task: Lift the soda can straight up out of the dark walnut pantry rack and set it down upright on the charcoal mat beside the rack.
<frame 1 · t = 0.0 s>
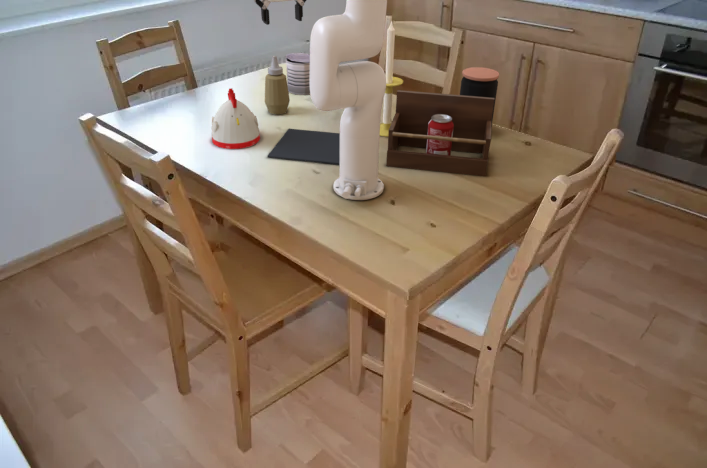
hand: (282, 21, 163), 31 cm above the table, tool pointing down, fingers open, 9 cm apart
candle: (386, 130, 179), on the table
coffee jar: (473, 131, 180), on the table
pantry rack: (437, 159, 162), on the table
kitchen timer: (236, 139, 172), on the table
can: (303, 90, 209), on the table
squeeze bottle: (277, 112, 191), on the table
soda can: (437, 159, 162), resting in pantry rack
mat: (318, 147, 167), on the table
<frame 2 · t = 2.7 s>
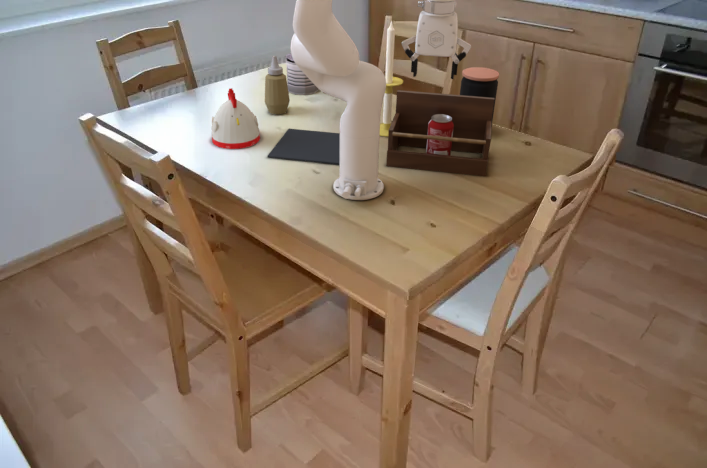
hand: (433, 76, 151), 23 cm above the table, tool pointing down, fingers open, 9 cm apart
nothing on the table moved.
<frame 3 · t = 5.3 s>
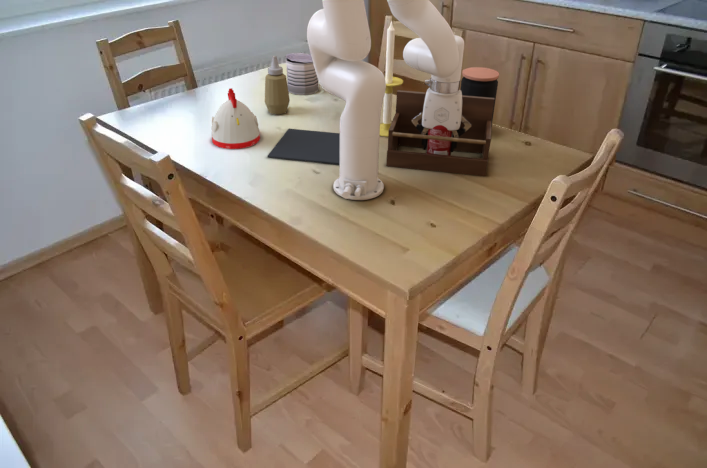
hand: (438, 148, 160), 3 cm above the table, tool pointing down, fingers closed on soda can, 6 cm apart
soda can: (437, 159, 162), resting in pantry rack, touching gripper
everything else where it was.
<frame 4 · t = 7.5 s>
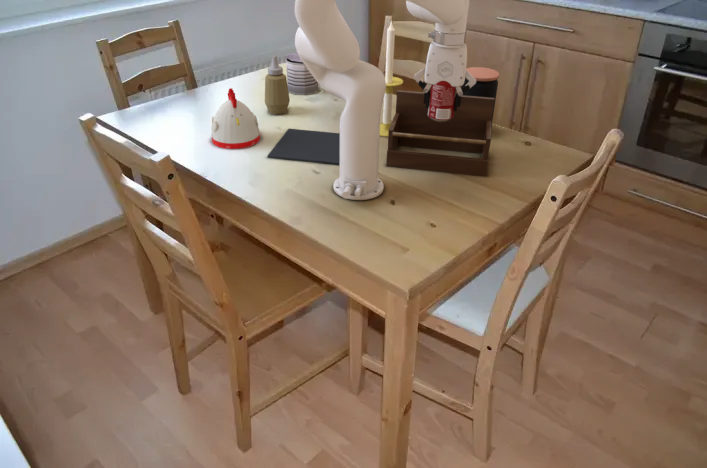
hand: (441, 107, 154), 15 cm above the table, tool pointing down, fingers closed on soda can, 6 cm apart
soda can: (440, 119, 155), point 12 cm above the table, touching gripper
everything else where it was.
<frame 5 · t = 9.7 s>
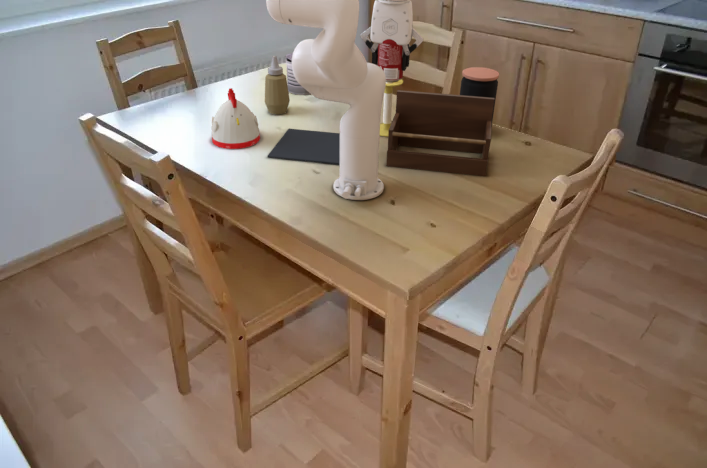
hand: (390, 67, 151), 24 cm above the table, tool pointing down, fingers closed on soda can, 6 cm apart
soda can: (389, 80, 153), point 21 cm above the table, touching gripper
everything else where it was.
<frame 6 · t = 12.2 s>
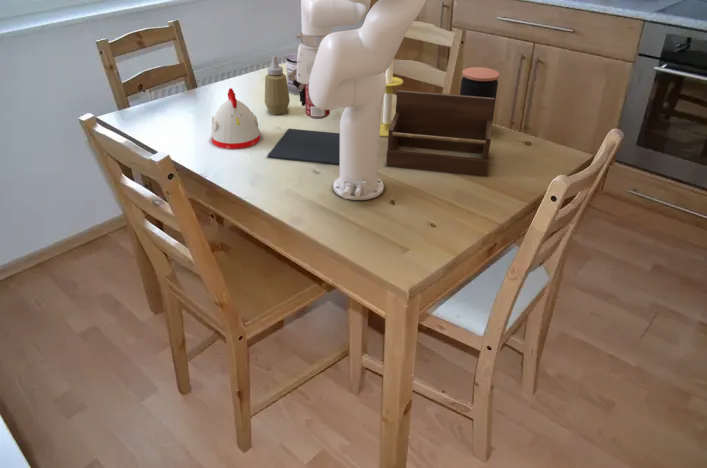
hand: (317, 105, 161), 13 cm above the table, tool pointing down, fingers closed on soda can, 6 cm apart
soda can: (317, 116, 163), point 9 cm above the table, touching gripper
everything else where it was.
when the fingers open (4 cm above the table, at t = 14.2 s): soda can stays where it is, resting on mat.
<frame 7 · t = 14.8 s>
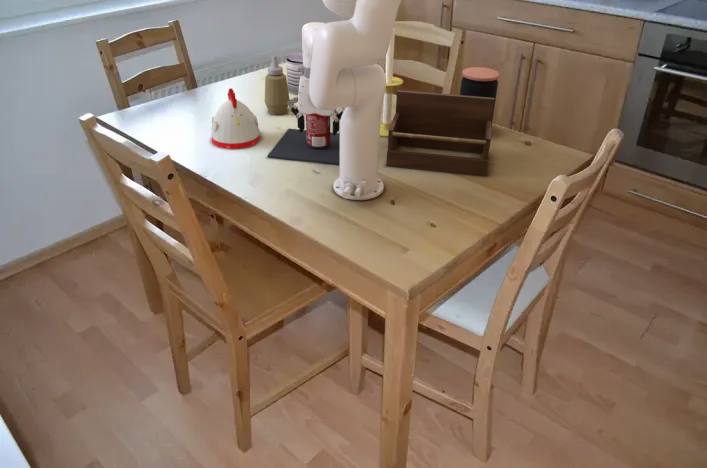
hand: (318, 132, 165), 5 cm above the table, tool pointing down, fingers open, 9 cm apart
soda can: (318, 145, 167), resting on mat
everything else where it was.
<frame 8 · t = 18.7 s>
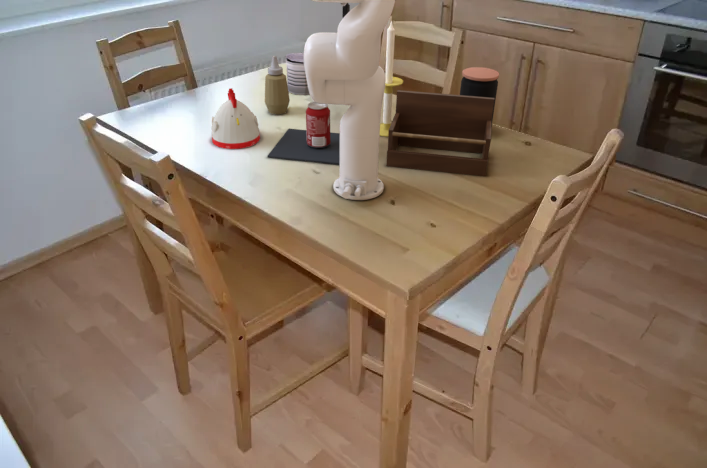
hand: (365, 22, 150), 34 cm above the table, tool pointing down, fingers open, 9 cm apart
nothing on the table moved.
at the end: soda can inside the target area on the mat (0.2 cm from its centre), point 0.4 cm above the mat's base; soda can tilted 0°; the gripper is holding nothing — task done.
